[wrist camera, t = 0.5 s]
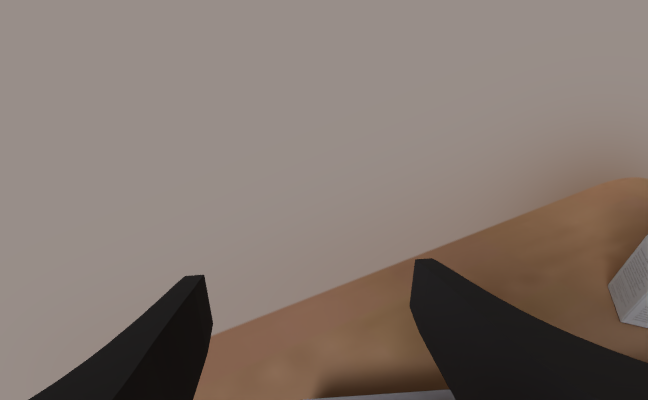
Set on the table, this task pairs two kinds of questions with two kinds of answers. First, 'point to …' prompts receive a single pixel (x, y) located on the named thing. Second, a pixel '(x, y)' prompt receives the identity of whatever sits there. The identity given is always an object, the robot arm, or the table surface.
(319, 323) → the table surface
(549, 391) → the robot arm
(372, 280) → the table surface
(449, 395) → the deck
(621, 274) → the skincare box
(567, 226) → the table surface
